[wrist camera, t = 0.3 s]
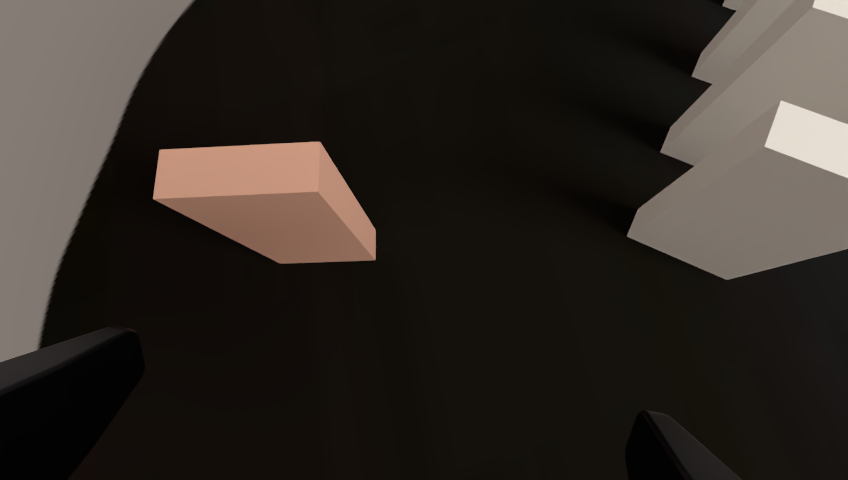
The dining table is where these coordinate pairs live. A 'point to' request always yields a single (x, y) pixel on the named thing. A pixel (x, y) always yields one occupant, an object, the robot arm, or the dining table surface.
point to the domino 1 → (269, 200)
